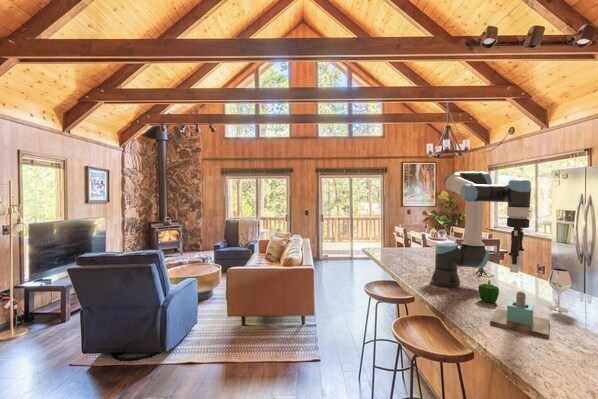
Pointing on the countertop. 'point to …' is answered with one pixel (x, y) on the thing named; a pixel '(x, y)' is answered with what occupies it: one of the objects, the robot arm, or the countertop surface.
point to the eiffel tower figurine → (484, 273)
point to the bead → (520, 313)
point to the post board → (538, 326)
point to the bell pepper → (488, 292)
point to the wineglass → (559, 284)
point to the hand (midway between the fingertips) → (515, 269)
